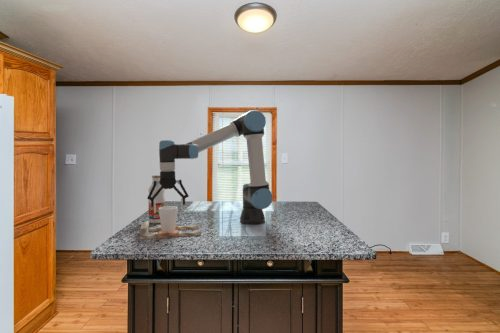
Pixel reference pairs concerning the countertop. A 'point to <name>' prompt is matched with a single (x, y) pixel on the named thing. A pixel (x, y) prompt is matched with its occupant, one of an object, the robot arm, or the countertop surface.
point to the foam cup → (168, 218)
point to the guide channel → (145, 230)
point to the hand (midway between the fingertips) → (168, 212)
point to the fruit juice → (158, 199)
